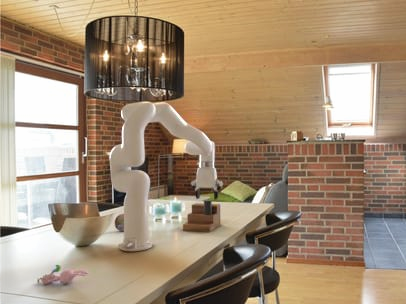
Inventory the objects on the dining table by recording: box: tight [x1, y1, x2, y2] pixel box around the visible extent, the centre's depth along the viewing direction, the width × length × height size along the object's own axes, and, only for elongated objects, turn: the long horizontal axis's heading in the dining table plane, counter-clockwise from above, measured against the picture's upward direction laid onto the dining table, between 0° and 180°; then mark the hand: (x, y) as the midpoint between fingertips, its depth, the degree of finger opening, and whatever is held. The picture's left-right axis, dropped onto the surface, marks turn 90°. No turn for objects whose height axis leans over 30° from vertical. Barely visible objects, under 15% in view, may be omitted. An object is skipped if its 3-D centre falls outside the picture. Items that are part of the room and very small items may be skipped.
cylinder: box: [203, 199, 213, 215], centre depth 176 cm, size 4×4×7 cm
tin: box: [114, 213, 124, 232], centre depth 175 cm, size 15×3×8 cm, turn 143°
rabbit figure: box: [36, 264, 89, 285], centre depth 104 cm, size 6×6×15 cm
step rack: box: [182, 202, 222, 233], centre depth 177 cm, size 16×14×11 cm
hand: (206, 198), depth 176 cm, fingers open, 9 cm apart
